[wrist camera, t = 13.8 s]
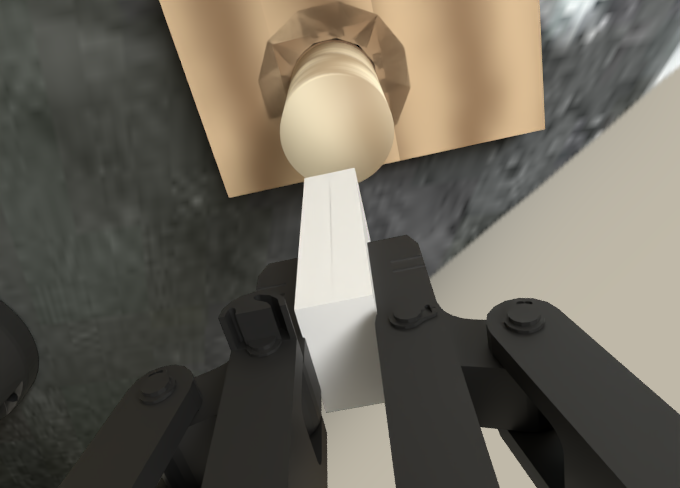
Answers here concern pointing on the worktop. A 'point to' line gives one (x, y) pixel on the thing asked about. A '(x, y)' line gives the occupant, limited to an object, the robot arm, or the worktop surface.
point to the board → (389, 62)
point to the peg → (336, 113)
